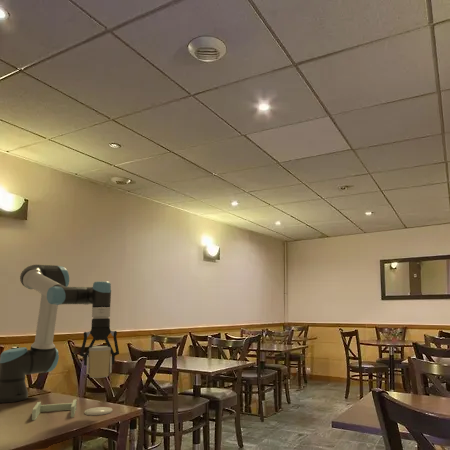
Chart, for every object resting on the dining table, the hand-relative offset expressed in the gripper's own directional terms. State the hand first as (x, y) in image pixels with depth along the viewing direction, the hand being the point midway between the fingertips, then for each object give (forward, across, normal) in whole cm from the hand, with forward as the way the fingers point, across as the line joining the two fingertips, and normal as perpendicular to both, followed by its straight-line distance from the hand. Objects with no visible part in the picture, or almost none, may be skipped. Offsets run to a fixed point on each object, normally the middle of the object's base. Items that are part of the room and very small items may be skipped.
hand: (99, 373), depth 182 cm
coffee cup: (+2, 0, 0) cm, 2 cm away
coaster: (+15, 0, 0) cm, 15 cm away
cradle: (+15, -17, +2) cm, 23 cm away
